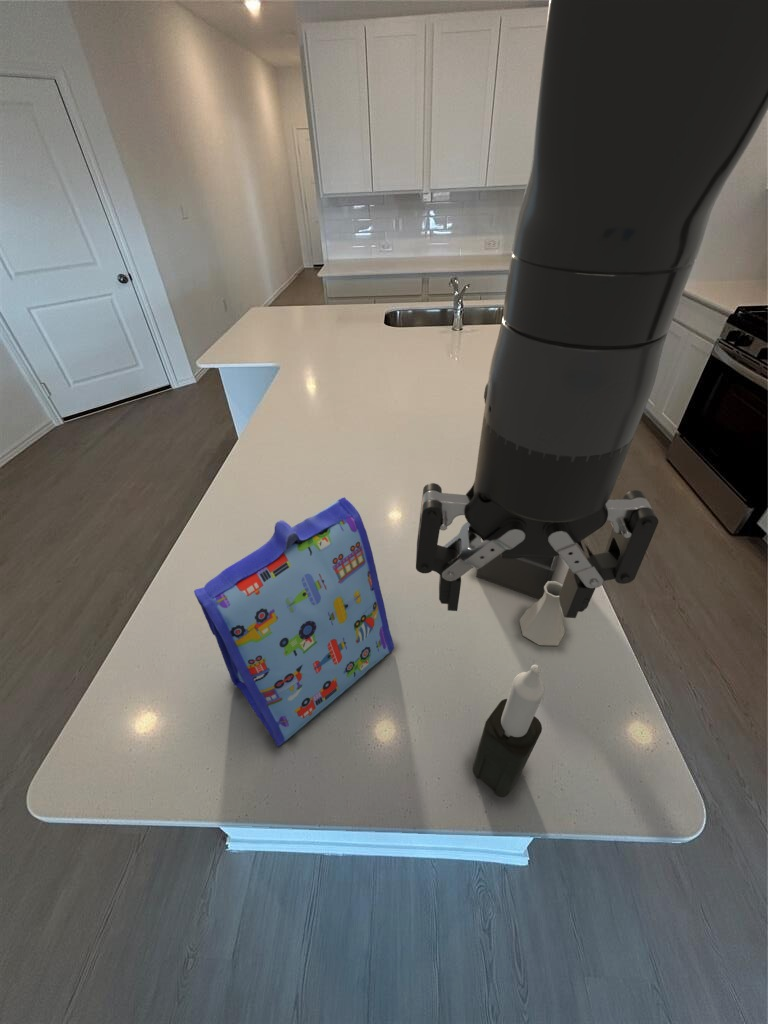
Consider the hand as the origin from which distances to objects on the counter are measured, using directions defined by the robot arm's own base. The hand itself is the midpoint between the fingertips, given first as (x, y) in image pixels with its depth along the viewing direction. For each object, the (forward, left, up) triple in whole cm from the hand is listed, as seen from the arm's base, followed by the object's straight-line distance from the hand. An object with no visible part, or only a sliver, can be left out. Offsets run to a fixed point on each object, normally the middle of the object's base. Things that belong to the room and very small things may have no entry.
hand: (508, 605), depth 33 cm
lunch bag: (+26, -3, -35) cm, 44 cm away
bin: (+4, -38, -35) cm, 52 cm away
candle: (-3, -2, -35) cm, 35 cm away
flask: (-3, -27, -35) cm, 44 cm away
